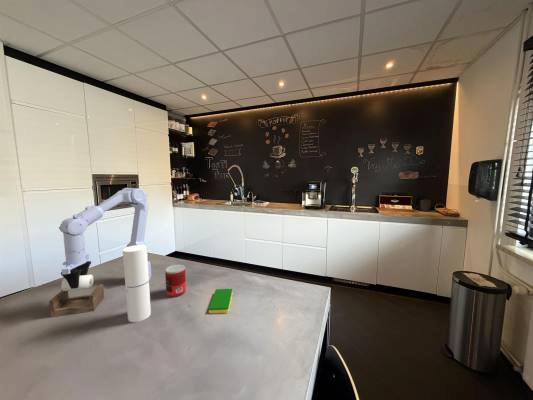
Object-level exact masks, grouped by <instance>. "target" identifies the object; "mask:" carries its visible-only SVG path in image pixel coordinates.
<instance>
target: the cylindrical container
mask: <svg viewBox="0 0 533 400" xmlns="http://www.w3.org/2000/svg"><path fill="white" fill-rule="evenodd" d="M145 245H146V244H145ZM145 245H134V246H129V247H127V246H126V247H124V248H123V249H122V257H123V258H122V261H123V271H124V272H123V273H124V283H125V295H126V299H125V300H126V311H127V313H126V314H127V320H128V322H130V323H139V322H141V321H144V320H146V319H147V318H149V317H150V316H151V314H152V310H151V309H152V307H151V296H150V295H151V293H150V292H151V291H150V280H149V276H148V261H149V259H148V257H147V253H148V247H147V245H146V246H145Z"/></svg>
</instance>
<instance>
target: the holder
mask: <svg viewBox="0 0 533 400" xmlns="http://www.w3.org/2000/svg"><path fill="white" fill-rule="evenodd" d="M104 299H105V292H104V284H103V283H99V284H98V285H97V287H95V289H94V290H93V291H92V292H91V293H90V294H85V295H75V296H70V295H69V291H63V290H62V289H61V290H60V292H59V293H57V294H55V295H54V296H53V297H52V298H51V299H49V301H48V303H49V312H50V318H54V317H62V316H68V315H75V314H82V313H88V312H95V310H96V309H97V307H98V306H99V305H100V304H101V303H102V301H103V300H104Z"/></svg>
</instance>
